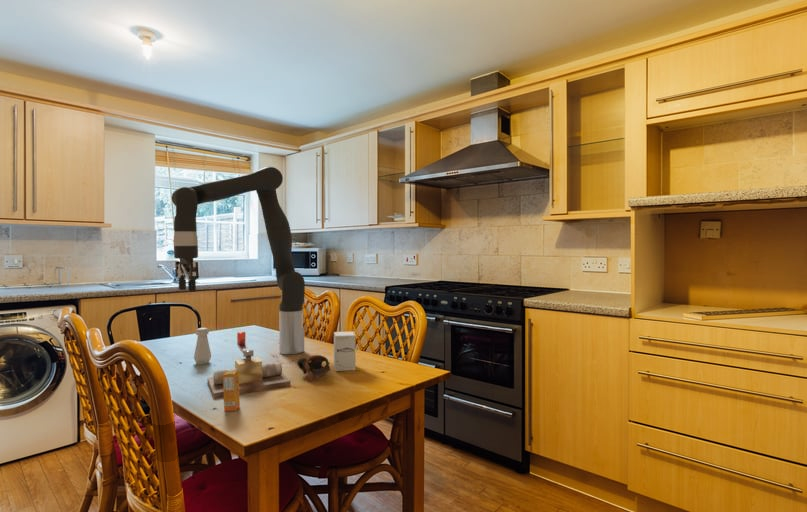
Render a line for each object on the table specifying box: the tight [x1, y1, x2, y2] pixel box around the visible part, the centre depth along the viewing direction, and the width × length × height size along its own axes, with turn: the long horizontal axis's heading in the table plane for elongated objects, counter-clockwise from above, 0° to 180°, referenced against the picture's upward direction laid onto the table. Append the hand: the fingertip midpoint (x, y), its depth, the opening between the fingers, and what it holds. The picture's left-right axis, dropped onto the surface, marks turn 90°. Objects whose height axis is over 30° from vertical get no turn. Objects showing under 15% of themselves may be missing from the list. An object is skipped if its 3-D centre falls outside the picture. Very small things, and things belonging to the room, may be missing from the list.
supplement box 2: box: [333, 331, 357, 372], centre depth 152 cm, size 7×7×13 cm
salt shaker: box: [193, 327, 212, 365], centre depth 157 cm, size 6×6×13 cm
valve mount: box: [206, 356, 291, 399], centre depth 134 cm, size 22×16×9 cm
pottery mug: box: [297, 354, 332, 382], centre depth 142 cm, size 12×10×8 cm
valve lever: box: [236, 331, 254, 358], centre depth 139 cm, size 15×3×5 cm, turn 31°
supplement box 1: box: [223, 371, 241, 412], centre depth 113 cm, size 3×4×10 cm
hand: (187, 290), depth 150 cm, fingers open, 8 cm apart
